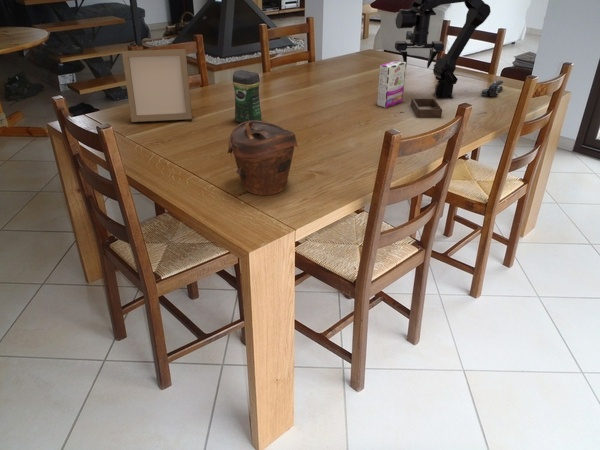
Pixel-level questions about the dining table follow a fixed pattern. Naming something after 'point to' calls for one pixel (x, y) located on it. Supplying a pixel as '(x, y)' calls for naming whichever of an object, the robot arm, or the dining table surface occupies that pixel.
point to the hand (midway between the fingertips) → (416, 67)
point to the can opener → (493, 89)
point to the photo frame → (157, 84)
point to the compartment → (425, 113)
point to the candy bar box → (391, 83)
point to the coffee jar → (246, 96)
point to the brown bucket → (262, 155)
